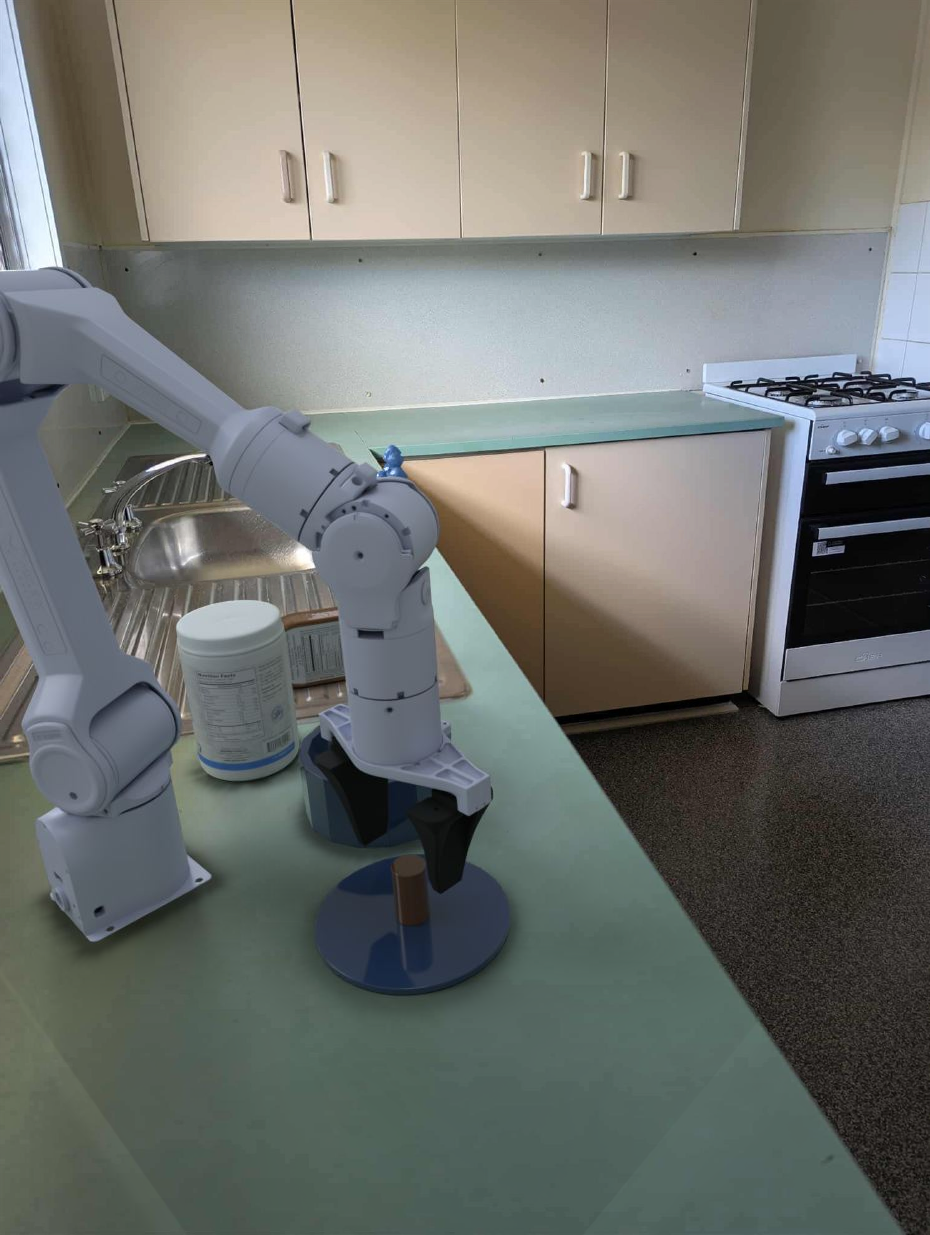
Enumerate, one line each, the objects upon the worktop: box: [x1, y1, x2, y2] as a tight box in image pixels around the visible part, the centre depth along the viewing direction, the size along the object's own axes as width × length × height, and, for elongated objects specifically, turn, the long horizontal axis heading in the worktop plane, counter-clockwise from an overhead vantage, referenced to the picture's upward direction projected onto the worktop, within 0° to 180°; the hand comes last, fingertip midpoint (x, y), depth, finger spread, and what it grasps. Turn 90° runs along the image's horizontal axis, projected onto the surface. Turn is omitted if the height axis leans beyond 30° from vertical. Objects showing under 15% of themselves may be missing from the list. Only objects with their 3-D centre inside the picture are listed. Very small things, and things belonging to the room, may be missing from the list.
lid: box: [314, 853, 511, 996], centre depth 60 cm, size 14×14×5 cm
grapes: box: [376, 444, 409, 479], centre depth 168 cm, size 12×7×12 cm, turn 13°
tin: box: [281, 605, 346, 688], centre depth 98 cm, size 15×3×8 cm, turn 109°
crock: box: [297, 724, 453, 849], centre depth 74 cm, size 13×13×6 cm
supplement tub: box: [175, 599, 300, 782], centre depth 81 cm, size 10×10×15 cm
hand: (408, 860), depth 59 cm, fingers open, 7 cm apart
